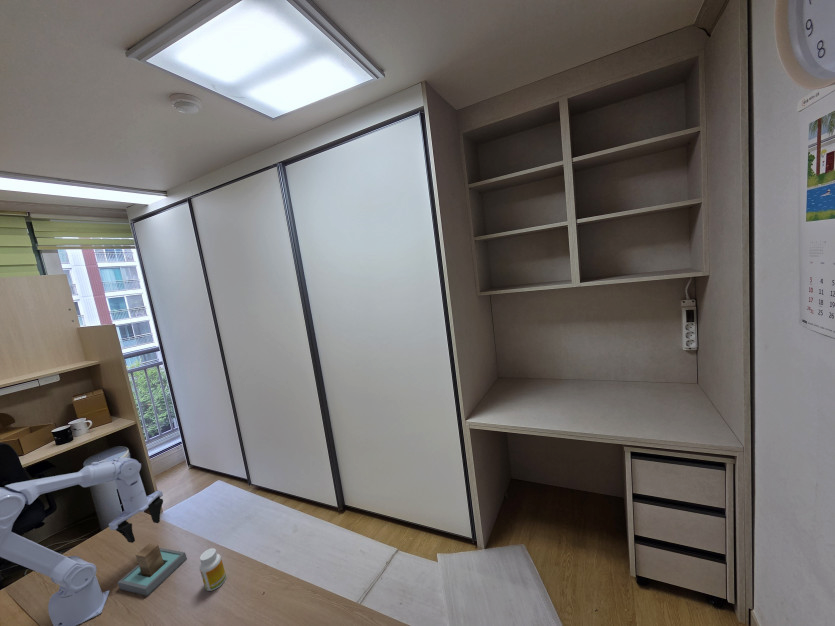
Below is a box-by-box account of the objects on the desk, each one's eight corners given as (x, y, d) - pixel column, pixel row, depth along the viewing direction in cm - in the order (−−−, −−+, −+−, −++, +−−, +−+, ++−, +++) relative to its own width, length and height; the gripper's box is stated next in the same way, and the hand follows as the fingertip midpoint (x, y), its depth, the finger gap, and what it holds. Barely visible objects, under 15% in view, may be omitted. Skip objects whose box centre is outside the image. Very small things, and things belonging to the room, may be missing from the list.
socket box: (147, 596, 95) (145, 589, 95) (119, 589, 99) (117, 582, 99) (187, 559, 107) (185, 552, 106) (160, 554, 110) (158, 547, 110)
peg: (151, 579, 100) (144, 556, 99) (142, 577, 102) (135, 554, 100) (165, 567, 104) (158, 545, 103) (156, 565, 105) (149, 543, 104)
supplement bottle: (230, 573, 99) (222, 545, 98) (218, 591, 94) (209, 562, 92) (214, 574, 100) (206, 546, 98) (200, 591, 94) (192, 562, 93)
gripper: (115, 512, 97) (128, 552, 99) (164, 479, 110) (175, 515, 113) (99, 510, 99) (112, 549, 101) (149, 478, 113) (160, 513, 115)
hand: (144, 531), depth 107 cm, fingers open, 7 cm apart
